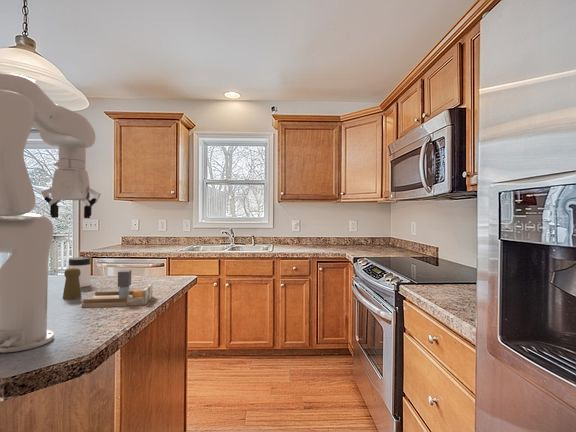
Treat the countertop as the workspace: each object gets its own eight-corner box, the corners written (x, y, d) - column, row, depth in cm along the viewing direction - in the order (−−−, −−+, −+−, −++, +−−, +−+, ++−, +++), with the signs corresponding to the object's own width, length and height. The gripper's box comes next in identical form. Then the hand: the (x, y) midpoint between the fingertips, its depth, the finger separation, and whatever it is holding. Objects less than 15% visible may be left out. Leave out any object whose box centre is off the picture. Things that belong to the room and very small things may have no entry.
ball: (132, 289, 121) (129, 300, 121) (144, 292, 121) (140, 303, 121) (135, 287, 125) (132, 297, 124) (146, 290, 125) (143, 300, 125)
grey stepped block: (126, 299, 119) (127, 272, 119) (115, 299, 118) (116, 272, 118) (132, 294, 126) (132, 269, 126) (121, 294, 125) (122, 269, 125)
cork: (72, 299, 122) (72, 269, 122) (58, 298, 124) (58, 269, 124) (85, 296, 128) (85, 267, 128) (71, 295, 130) (72, 266, 130)
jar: (81, 283, 152) (82, 256, 152) (95, 284, 149) (95, 257, 149) (62, 286, 144) (63, 259, 144) (76, 288, 141) (76, 260, 141)
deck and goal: (144, 305, 117) (144, 291, 117) (81, 307, 113) (81, 292, 113) (152, 296, 131) (153, 283, 131) (97, 297, 127) (97, 284, 127)
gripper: (36, 163, 105) (35, 217, 105) (96, 165, 108) (95, 218, 108) (48, 166, 113) (47, 217, 113) (104, 169, 116) (103, 218, 116)
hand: (71, 217), depth 110 cm, fingers open, 9 cm apart
